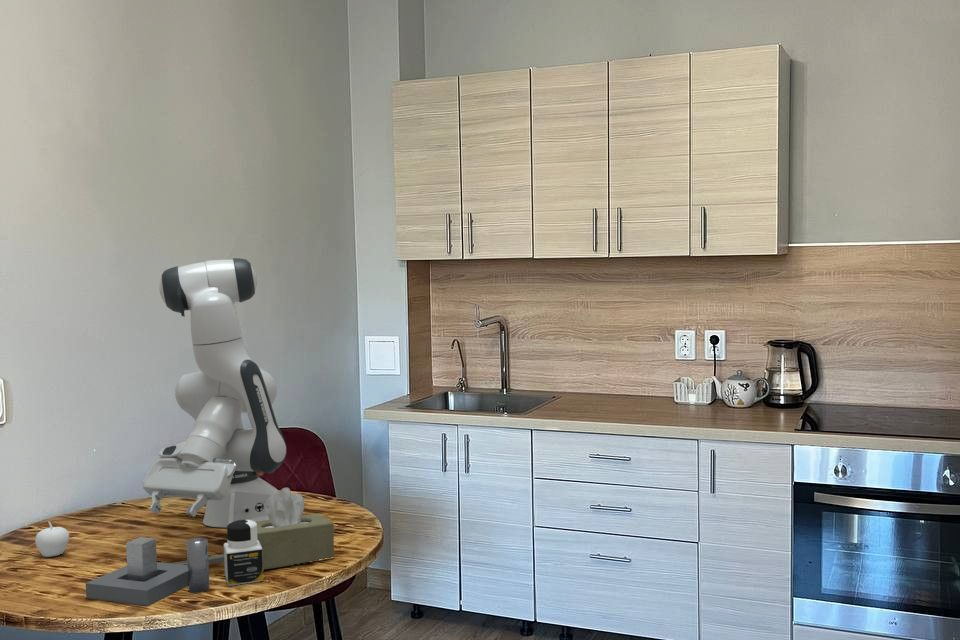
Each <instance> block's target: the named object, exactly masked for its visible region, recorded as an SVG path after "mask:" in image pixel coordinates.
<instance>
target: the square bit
mask: <svg viewBox="0 0 960 640" xmlns="http://www.w3.org/2000/svg"><path fill="white" fill-rule="evenodd" d="M125 551H126V553H125V554H126V566H127V574H128V580H132V581H141V582H145V581H147V580H150V579H152V578H154V577H156V576H158V575H157V562H158V559H157V538H155V537H154V538H152V537H143V536H142V537H137V538H134V539H132V540H129V541H128V542H126V543H125Z"/></svg>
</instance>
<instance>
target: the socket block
mask: <svg viewBox="0 0 960 640" xmlns="http://www.w3.org/2000/svg"><path fill="white" fill-rule="evenodd" d="M170 563H171V562H161V561H159V562H158V561H157V575H158V576H156V577H154V578H152V579H150V580H147V581H145V582H141V581H132V580H128V574H127V565H125V566H122V567H119V568H118V569H115V570H113V571H111V572H108V573H106V574H103V575H102V576H99V577H97V578H94V579H93V580H89V581H88V582H86V583H85V599H89V600H90V599H91V600H97V601H99V600H100V601H104V602H106V601H107V602H114V603H121V604H130V605H135V606H136V605H137V606H146V607H149V606H150V605H152V604H154V603H156V602H159V601H160V600H162V599H164V598H166V597H169V596H171V595H172V594H174V593H176V592H179V591H180V590H182V589H185V588H186V587H189V584H188V565H179V564H170Z"/></svg>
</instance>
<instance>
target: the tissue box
mask: <svg viewBox="0 0 960 640" xmlns="http://www.w3.org/2000/svg"><path fill="white" fill-rule="evenodd" d="M263 504H264V506H265V509H266V512H267V515H268V517H269V520H265V521H257V522H256V523H257V539H258V540H259V543H260V545H261V547H262V553H263V571H264V570H270V569H278V568H283V567H284V568H285V567H289V565H291V566H295V565H294V564H297V565H301V564H300V563H303V564H306V563H305V562H310V561H315V560H319V559H325V558H331V557H334V558H335V537H334V536H335V533H334V532H335V530H334V525H335V524H334V522H333V521H331V520H329V519H328V518H327V517H325V516H324V515H322V514H320V513H319V512H318V513H311V514H305V515H304V514H303V513H304V510H305V504H306V503H305V498H303V494H302V493H301V494H300V493H292V492H291V489H290V488H289V487H283V488H281V489H280V490H279V492H278V493H277V494H275V495H271V496H270V497H269V498H268V499H267V500H265V501H263ZM310 563H311V562H310Z"/></svg>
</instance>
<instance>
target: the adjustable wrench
mask: <svg viewBox="0 0 960 640" xmlns="http://www.w3.org/2000/svg"><path fill="white" fill-rule="evenodd" d="M220 562H221V563H224V553H222V554H216V555H210V556H208V563H209V564H210V565H214V564H213V563H216V564H221V563H220ZM169 563H170V564H179V565H188V562H187V560H182V561H177V562H169Z"/></svg>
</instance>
